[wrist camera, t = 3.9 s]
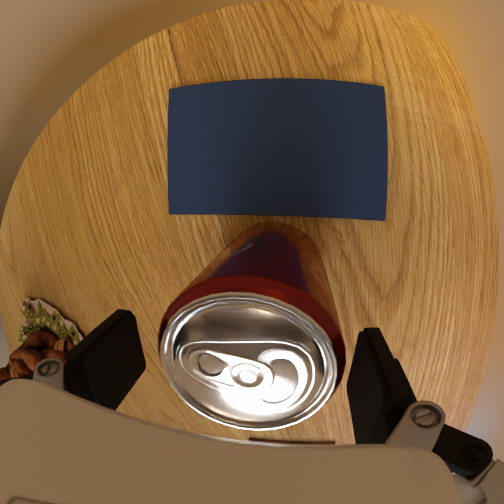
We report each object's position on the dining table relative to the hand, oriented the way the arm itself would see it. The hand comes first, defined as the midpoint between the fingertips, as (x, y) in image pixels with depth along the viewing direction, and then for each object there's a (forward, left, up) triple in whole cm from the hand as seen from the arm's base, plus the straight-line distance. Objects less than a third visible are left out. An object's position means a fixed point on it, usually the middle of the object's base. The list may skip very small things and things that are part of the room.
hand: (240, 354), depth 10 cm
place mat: (0, -9, -11) cm, 14 cm away
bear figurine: (+27, +13, -11) cm, 32 cm away
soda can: (0, 0, -11) cm, 11 cm away
